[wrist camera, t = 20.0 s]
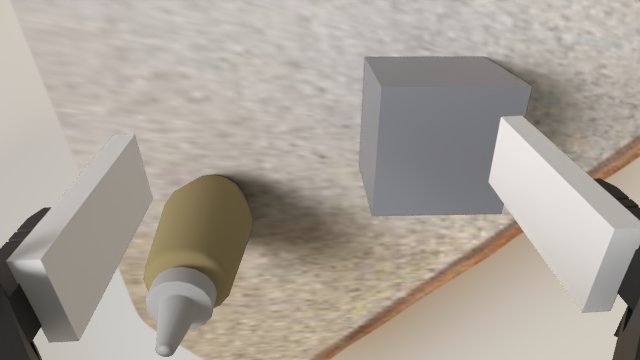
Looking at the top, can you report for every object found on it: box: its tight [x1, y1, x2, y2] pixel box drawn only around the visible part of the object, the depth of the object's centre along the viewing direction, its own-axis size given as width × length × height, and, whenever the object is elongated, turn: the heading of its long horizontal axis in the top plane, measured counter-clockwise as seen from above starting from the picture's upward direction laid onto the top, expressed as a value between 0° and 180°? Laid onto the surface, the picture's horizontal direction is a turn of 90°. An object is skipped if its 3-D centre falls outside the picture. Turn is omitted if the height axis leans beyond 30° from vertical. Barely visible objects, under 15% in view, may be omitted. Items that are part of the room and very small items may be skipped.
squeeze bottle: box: [144, 175, 253, 357], centre depth 35 cm, size 8×8×18 cm
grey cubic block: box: [359, 57, 532, 216], centre depth 36 cm, size 10×10×9 cm
